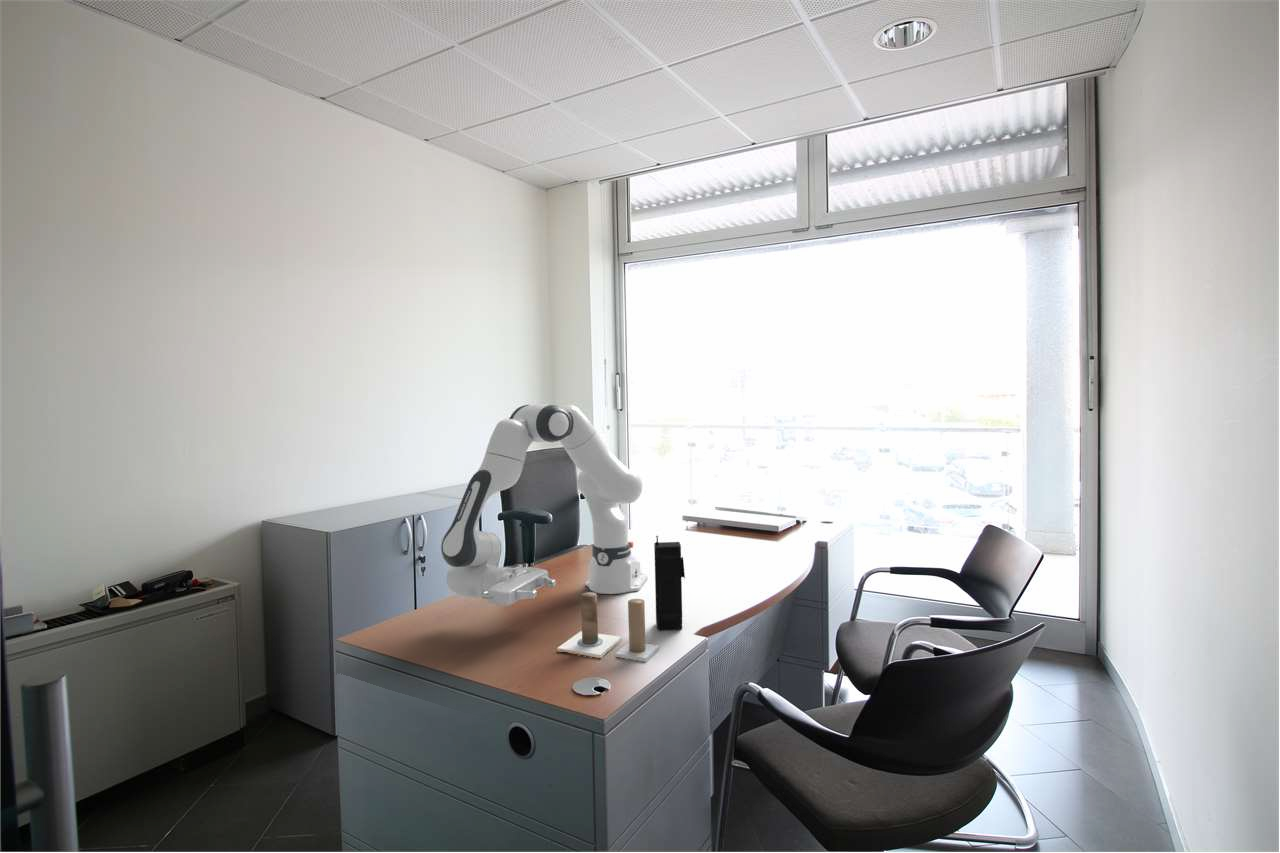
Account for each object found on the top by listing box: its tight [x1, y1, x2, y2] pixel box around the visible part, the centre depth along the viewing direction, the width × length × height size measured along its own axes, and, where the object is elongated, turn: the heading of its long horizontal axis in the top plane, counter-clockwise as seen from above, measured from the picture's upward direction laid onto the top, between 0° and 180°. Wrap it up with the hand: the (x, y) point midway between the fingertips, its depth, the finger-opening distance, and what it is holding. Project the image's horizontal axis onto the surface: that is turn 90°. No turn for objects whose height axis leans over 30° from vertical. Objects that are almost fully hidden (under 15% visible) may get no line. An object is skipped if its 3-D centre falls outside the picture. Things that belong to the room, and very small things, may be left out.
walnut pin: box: [580, 591, 599, 645], centre depth 171 cm, size 4×4×12 cm
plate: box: [556, 630, 623, 658], centre depth 171 cm, size 12×12×1 cm
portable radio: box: [653, 535, 686, 631], centre depth 183 cm, size 8×6×25 cm
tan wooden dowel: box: [615, 598, 660, 663], centre depth 166 cm, size 8×8×13 cm
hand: (545, 589), depth 177 cm, fingers open, 8 cm apart
